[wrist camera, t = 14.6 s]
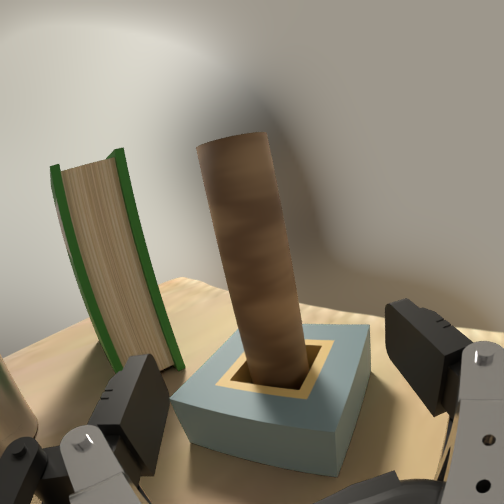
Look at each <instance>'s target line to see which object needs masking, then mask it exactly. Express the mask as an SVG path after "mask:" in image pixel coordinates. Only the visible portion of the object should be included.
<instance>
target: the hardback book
mask: <svg viewBox="0 0 504 504" xmlns="http://www.w3.org/2000/svg"><path fill="white" fill-rule="evenodd" d="M50 177H51V189H52V193H53V198H54V202H55V207H56V211H57V215H58V219H59V223H60V227H61V231H62V234H63V238H64V241H65V245H66V249H67V252H68V255H69V259H70V262H71V265H72V268H73V271H74V275H75V277H76V281H77V284H78V287H79V289H80V292H81V295H82V298H83V300H84V303H85V306H86V309H87V311H88V314H89V317H90V319H91V322H92V324H93V327H94V329H95V332H96V334H97V337H98V339H99V341H100V343H101V345H102V348H103V350H104V352H105V354H106V356H107V358H108V360H109V362H110V364H111V366H112V368H113V370H114V372H115V373H116V374H117V373H118V372H119V371H122V370H123V368H124V366H125V364H126V362H127V360H128V358H129V357H130V356H135V355H143V354H152V355H153V357H154V358H155V361H156V363H157V366H158V368H159V370H160V371H161V370H163V369H165V368H167V367H169V366H171V365H173V366H174V367H175V368H176V369H177V370H178V371H180V370H182V369H184V368H186V367H185V364H184V362H183V359H182V356H181V354H180V351H179V348H178V345H177V342H176V339H175V337H174V334H173V331H172V328H171V325H170V322H169V319H168V316H167V313H166V310H165V307H164V303H163V300H162V297H161V294H160V291H159V287H158V284H157V281H156V277H155V274H154V271H153V267H152V264H151V260H150V257H149V253H148V250H147V246H146V243H145V238H144V235H143V231H142V227H141V223H140V220H139V215H138V212H137V207H136V203H135V199H134V194H133V190H132V186H131V181H130V176H129V172H128V167H127V162H126V158H125V153H124V148H119V149H115V150H114V151H113V152H112V153H111V154H110V155H109V156H108V157H107V158H106V159H105V160H101V161H97V162H93V163H89V164H86V165H82V166H79V167H75V168H71V169H67V170H64V171H61V170H60V165H59V164H56V165H53V166H50Z"/></svg>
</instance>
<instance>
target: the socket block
mask: <svg viewBox="0 0 504 504" xmlns="http://www.w3.org/2000/svg"><path fill="white" fill-rule="evenodd" d="M302 326H303V333H304V339H305V346H306V352H307V359H308V366H309V373H308V375H307V377H306V379H305V381H304V383H303V384H302V386H301V388H300V390H294V389H285V388H277V387H270V386H263V385H256V384H253V382H252V378H251V375H250V371H249V367H248V364H247V360H246V356H245V352H244V348H243V344H242V341H241V337H240V333H239V329H237V330H236V332H235V333H234V334H233V335H232V336H231V337H230V338H229V339H228V340H227V341H226V342H225V343H224V344H223V345H222V346H221V347H220V348H219V349H218V350H217V351H216V352H215V353H214V354H213V355H212V356H211V357H210V358H209V359H208V360H207V361H206V362H205V363H204V364H203V365H202V366H201V367H200V368H199V369H198V370H197V371H196V372H195V373H194V374H193V375H192V376H191V377H190V378H189V379H188V380H187V381H186V382H185V383H184V384H183V385H182V386H181V387H180V388H179V389H178V390H177V391H176V392H175V393H174V394H173V395H172V396H171V397H170V398H169V399H170V402H171V404H172V406H173V408H174V411H175V413H176V415H177V417H178V419H179V421H180V423H181V425H182V427H183V429H184V431H185V433H186V435H187V437H188V439H189V441H190V442H191V443H194V444H196V445H199V446H202V447H205V448H209V449H212V450H215V451H218V452H221V453H225V454H228V455H232V456H235V457H239V458H243V459H246V460H250V461H254V462H258V463H262V464H266V465H271V466H275V467H280V468H285V469H290V470H295V471H300V472H306V473H312V474H318V475H325V476H332V477H338V474H339V472H340V469H341V466H342V464H343V461H344V458H345V455H346V452H347V450H348V447H349V444H350V441H351V438H352V435H353V432H354V428H355V425H356V422H357V419H358V416H359V412H360V409H361V405H362V402H363V398H364V395H365V391H366V388H367V384H368V380H369V376H370V372H371V349H370V325H336V324H302Z"/></svg>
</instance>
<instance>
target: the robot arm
mask: <svg viewBox="0 0 504 504" xmlns="http://www.w3.org/2000/svg"><path fill="white" fill-rule="evenodd" d="M385 344H386V350H387V353H388V356H389V358H390V360H391V361H392V362H393V364H394V365H395V366H396V367H397V369H398V370H399V371H400V373H401V374H402V375H403V377H404V378H405V379H406V381H407V382H408V383H409V384H410V386H411V387H412V388H413V390H414V391H415V392H416V394H417V395H418V396H419V398H420V399H421V400H422V402H423V403H424V404H425V406H426V407H427V409H428V410H429V411H430V413H431V414H432V415H433V417H435V416H438V415H440V414H442V413H444V412H447V413H448V414H449V419H448V422H447V428H446V433H445V438H444V443H443V448H442V452H441V456H440V461H439V465H438V468H437V472H436V475H435V478H434V480H429V479H408V480H400V481H399V479H398V477H397V475H396V473H395V471H391V472H388V473H386V474H383V475H380V476H377V477H374V478H371V479H368V480H365V481H362V482H359V483H356V484H352V485H350V486H348V487H346V488H345V489H343V490H341V491H339V492H337V493H335V494H333V495H331V496H328V497H326V498H324V499H322V500H320V501H318V502H316V503H313V504H504V349H503V348H502V347H501V346H500V345H498V344H496V343H493V342H489V341H479V342H474V343H473V342H472V341H471V340H470V339H468V338H467V337H466V336H465V335H464V334H462V333H461V332H460V331H459V330H457V329H456V328H455V327H454V326H451V324H450V323H449V322H447V321H446V320H444V319H443V318H442V317H441V316H440V315H438V314H437V313H436V312H434V311H431V310H428V309H426V308H419V307H417V306H416V305H415V304H414V303H413V302H411V301H410V300H409V299H407V298H405V299H402V300H399V301H396V302H392V303H389V304H387V305H386V307H385ZM169 405H170V399H169V393H168V389H167V387H166V385H165V382H164V380H163V378H162V375H161V373H160V370H159V368H158V366H157V363H156V361H155V358H154V357H153V355H152V354H143V355H135V356H130V357H129V358H128V360H127V362H126V364H125V366H124V368H123V370H122V371H119V372H118V373H117V374H116V375H114V376H113V377H112V378H111V379H110V380H109V382H108V384H107V386H106V388H105V392H103V394H102V396H101V400H99V401H98V403H97V405H96V407H95V409H94V411H93V413H92V415H91V417H90V419H89V421H88V424H87V425H83V426H79V427H76V428H74V429H72V430H71V431H69V432H68V433H67V434H66V435H65V436H64V437H63V439H62V441H61V443H60V446H55V447H49V448H43V449H42V448H41V446H40V445H39V444H38V442H37V441H36V440H35V439H34V438H33V437H34V436H35V434H36V431H37V426H38V422H37V418H36V417H35V415H34V413H33V412H32V410H31V409H30V407H29V405H28V404H27V402H26V401H25V399H24V397H23V396H22V394H21V392H20V390H19V388H18V387H17V385H16V383H15V381H14V380H13V378H12V376H11V374H10V372H9V370H8V368H7V366H6V364H5V363H4V361H3V359H2V357H1V355H0V504H30V503H31V500H32V498H33V495H34V494H35V495H36V496H37V497H38V498H39V499H40V500H41V501H42V503H41V504H153V503H152V501H151V500H150V498H149V497H148V496H147V494H146V493H145V491H144V490H143V488H142V487H141V486H140V485H139V480H140V476H154V474H155V469H156V464H157V459H158V455H159V450H160V445H161V441H162V436H163V432H164V427H165V423H166V418H167V414H168V410H169Z"/></svg>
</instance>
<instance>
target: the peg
mask: <svg viewBox="0 0 504 504" xmlns="http://www.w3.org/2000/svg"><path fill="white" fill-rule="evenodd" d="M196 149H197V154H198V159H199V163H200V168H201V172H202V177H203V182H204V186H205V191H206V195H207V199H208V204H209V208H210V213H211V217H212V222H213V226H214V231H215V235H216V239H217V243H218V247H219V252H220V256H221V260H222V264H223V269H224V273H225V277H226V281H227V285H228V289H229V293H230V297H231V301H232V305H233V309H234V313H235V317H236V321H237V325H238V329H239V333H240V337H241V341H242V344H243V348H244V352H245V356H246V360H247V364H248V367H249V371H250V375H251V378H252V382H253V384H256V385H263V386H270V387H277V388H285V389H294V390H300V388H301V386H302V384H303V383H304V381H305V379H306V377H307V375H308V373H309V366H308V359H307V352H306V346H305V339H304V333H303V326H302V320H301V314H300V308H299V302H298V296H297V290H296V284H295V278H294V272H293V266H292V261H291V255H290V249H289V244H288V239H287V233H286V228H285V223H284V218H283V212H282V207H281V201H280V196H279V191H278V186H277V181H276V176H275V171H274V166H273V161H272V156H271V152H270V147H269V142H268V137H267V133H265V132H255V133H247V134H241V135H236V136H230V137H226V138H221V139H218V140H214V141H210V142H207V143H204V144H202V145H199V146H198V147H196Z"/></svg>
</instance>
